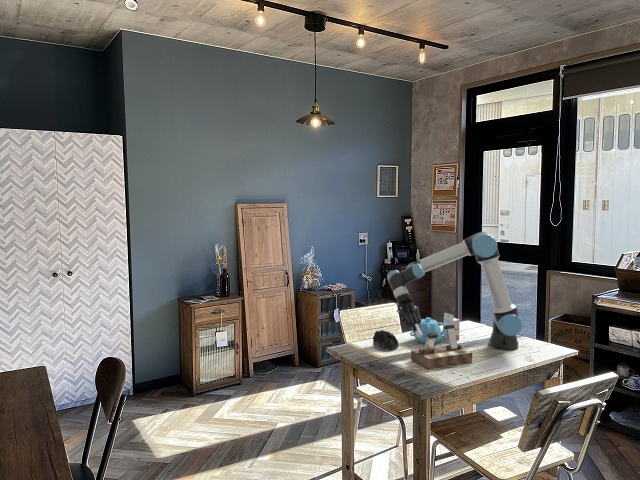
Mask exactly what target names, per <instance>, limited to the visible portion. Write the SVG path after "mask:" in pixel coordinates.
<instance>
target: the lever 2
mask: <svg viewBox="0 0 640 480" xmlns="http://www.w3.org/2000/svg"><path fill="white" fill-rule="evenodd" d="M444 328H445V330H446V334H447V338H446V339H447V343H448V344H447V345H449V346H451V347H452V349H453V348H458V345H457V344H458V340H456V335H455V331H454V328H455V327H454V325H447V326H444Z"/></svg>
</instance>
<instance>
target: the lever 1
mask: <svg viewBox="0 0 640 480" xmlns="http://www.w3.org/2000/svg"><path fill="white" fill-rule="evenodd" d="M437 337H438V334H437V333H436V332H430V333H428V334H427V339H426V342H425V343H424V345H423V348H422V349H423V350H424V354H425V353H431V351H432V349H433V348H434V345H435V344H434V343H435V340H436V338H437Z"/></svg>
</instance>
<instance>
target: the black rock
mask: <svg viewBox="0 0 640 480" xmlns="http://www.w3.org/2000/svg"><path fill="white" fill-rule="evenodd" d="M372 346H373V347H374V348H375V349H376V350H377V351H384V352H391V351H393V350H396V349H398V348H399V339H397V337H396V336H395V335H394V334H393V333H391V332H390V331H386V330H383V329H381V330H376V331H375V332H374V334H373V336H372Z"/></svg>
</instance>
